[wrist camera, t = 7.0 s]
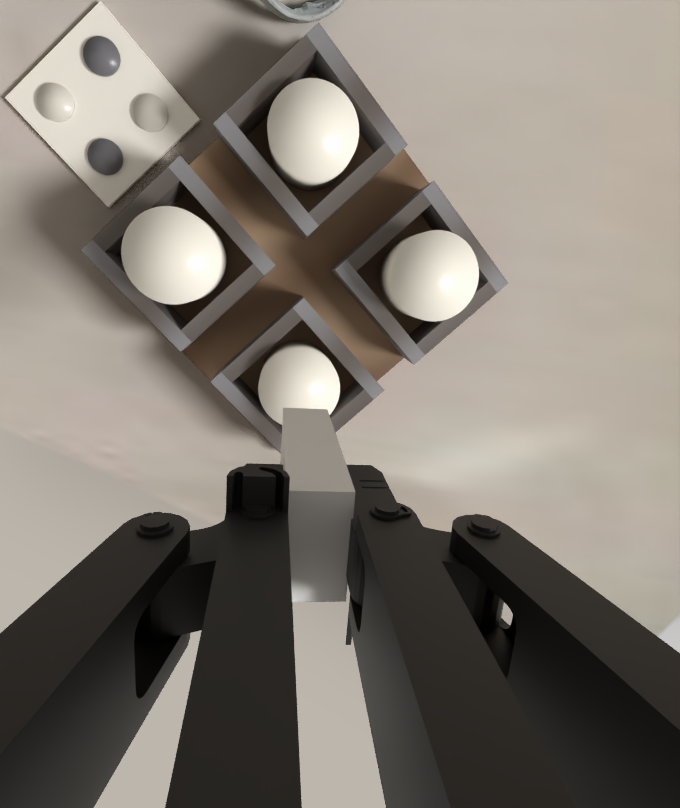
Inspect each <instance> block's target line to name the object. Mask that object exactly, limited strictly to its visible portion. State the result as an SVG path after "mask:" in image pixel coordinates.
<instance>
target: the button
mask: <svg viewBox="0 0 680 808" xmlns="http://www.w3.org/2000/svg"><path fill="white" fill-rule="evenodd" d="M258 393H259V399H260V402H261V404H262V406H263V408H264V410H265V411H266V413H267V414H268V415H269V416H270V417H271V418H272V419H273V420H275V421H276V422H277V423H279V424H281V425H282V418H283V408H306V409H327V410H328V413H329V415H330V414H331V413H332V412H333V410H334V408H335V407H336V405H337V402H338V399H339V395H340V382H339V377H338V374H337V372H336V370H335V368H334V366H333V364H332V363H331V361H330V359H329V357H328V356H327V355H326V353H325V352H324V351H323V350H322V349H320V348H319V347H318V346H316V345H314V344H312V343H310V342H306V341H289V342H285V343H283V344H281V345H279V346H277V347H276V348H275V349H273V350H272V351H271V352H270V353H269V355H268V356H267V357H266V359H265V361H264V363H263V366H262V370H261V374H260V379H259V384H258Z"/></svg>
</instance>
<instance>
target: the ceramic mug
mask: <svg viewBox="0 0 680 808" xmlns="http://www.w3.org/2000/svg"><path fill="white" fill-rule="evenodd" d="M261 1H262V3H263V4H264V5H265V6H266V7H267V8H268V9H269V10H270V11H271V12H272V13H274V14H275V15H277V16H278V17H280V18H282V19H284V20H286V21H288V22H294V23H308V22H314V21H318V20H320V19H322V18H324V17H326V16H328V15H330V14H331V13H333V12H334V11H335V10H337V9H338V8H339V7H340V6H341V5H342V4H343V3H344V1H345V0H316V1H314V2H305V3H304V4H303V5H302V6H301V8H295V9H291V8H289V7H287V6H286V5H284V4H283V3H281V2H279V1H277V0H261Z"/></svg>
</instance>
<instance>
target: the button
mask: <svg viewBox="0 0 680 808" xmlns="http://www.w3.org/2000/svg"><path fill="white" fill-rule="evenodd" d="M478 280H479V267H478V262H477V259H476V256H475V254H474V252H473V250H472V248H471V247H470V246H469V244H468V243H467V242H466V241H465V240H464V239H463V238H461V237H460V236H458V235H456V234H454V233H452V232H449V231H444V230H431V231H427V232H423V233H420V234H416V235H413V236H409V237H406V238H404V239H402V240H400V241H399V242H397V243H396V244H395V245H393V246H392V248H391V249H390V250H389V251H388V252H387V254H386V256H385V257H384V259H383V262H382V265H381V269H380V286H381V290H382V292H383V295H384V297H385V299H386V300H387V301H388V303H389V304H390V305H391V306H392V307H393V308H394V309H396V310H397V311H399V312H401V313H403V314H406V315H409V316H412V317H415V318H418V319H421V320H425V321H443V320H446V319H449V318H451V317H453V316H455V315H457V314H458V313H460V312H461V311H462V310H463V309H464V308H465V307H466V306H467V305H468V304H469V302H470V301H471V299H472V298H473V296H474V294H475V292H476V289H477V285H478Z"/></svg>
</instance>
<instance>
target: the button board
mask: <svg viewBox="0 0 680 808" xmlns="http://www.w3.org/2000/svg"><path fill="white" fill-rule="evenodd" d="M305 78H318V79H323V80H326V81H328V82H330V83H332V84H334V85H336V86H337V87H338V88H340V89H341V90H342V91H343V92H344V93H345V94H346V95H347V97H348V98H349V99H350V101H351V102H352V104H353V106H354V108H355V111H356V114H357V117H358V122H359V139H358V144H357V148H356V150H355V153H354V155H353V157H352V158H351V160H350V162H349V163H348V165H347V167H346V169H345V170H344V172H343V173H342V175H341V176H340V177H339V178H338V179H337V180H336V181H335V182H334V183H333V184H331V185H329V186H328V187H325V188H323V189H319V190H303V189H300V188H297V187H295V186H292V185H291V184H289V183H288V182H287V181H285V180H284V179H283V178H282V177H281V176H280V174H279V173H278V172H277V170H276V168H275V167H274V165H273V162H272V159H271V156H270V150H269V142H268V133H267V122H268V115H269V111H270V108H271V105H272V103H273V101H274V100H275V98H276V97H277V95H278V94H279V93H280V92H281V91H282V90H283V89H284V88H285V87H286V86H287V85H289V84H291V83H292V82H295V81H297V80H300V79H305ZM213 124H214V126H215V129H216V131H217V133H218V135H219V137H218V138H217V139H216V140H215V141H214V142H213V143H212V144H211V145H210V146H209V147H207V148H206V149H205V150H204V151H203V152H202V153H201V154H200V155H199V156H198V157H197V158H196V159H195V160H194V161H193V162H192V163H191V164H190V165H188V164H187V163H186V162H185V160H184V159H183V158H182V157H181V156H179V157H178V158H176V159H175V160H174V161H173V162H172V163H171V164H170V165H169V166H168V167H167V168H166V169H165V170H164V171H163V172H162V173H161V174H160V175H159V176H158V177H157V178H156V179H155V180H153V181H152V182H151V183H150V184H149V185H148V186H147V187H146V188H145V189H144V190H143V191H142V192H141V193H140V194H139V195H138V196H137V197H136V198H135V199H134V200H133V201H132V202H130V203H129V204H128V205H127V206H126V207H125V208H124V209H123V210H122V211H121V212H120V213H119V214H118V215H117V216H116V217H115V218H114V219H113V220H112V221H111V222H110V223H109V224H108V225H106V226H105V227H104V228H103V229H102V230H101V231H100V232H99V233H98V234H97V235H96V236H95V237H94V238H93V239H92V240H91V241H90V242H89V243H88V244H87V245H86V246H85V247H83V248H82V249H81V251H82V252H83V253H84V254H85V255H86V256H87V257H88V258H89V259H90V260H91V261H92V262H93V263H94V264H95V265H96V266H97V267H98V268H99V269H100V270H101V272H102V273H103V274H104V275H105V276H106V277H107V278H108V279H109V280H110V281H111V282H112V283H113V284H114V285H115V286H116V287H117V288H118V289H119V290H120V291H121V292H122V293H123V294H124V295H125V296H126V297H127V298H128V299H129V300H130V301H131V302H132V303H133V304H134V305H135V306H136V307H137V308H138V309H139V310H140V311H141V312H142V313H143V314H144V315H145V316H146V317H147V318H148V319H149V320H150V321H151V322H152V323H153V324H154V325H155V326H156V327H157V328H158V329H159V330H160V331H161V332H162V333H163V334H164V335H165V336H166V338H167V339H168V340H169V341H170V342H171V343H172V344H173V345H174V346H175V347H176V348H177V349H178V350H179V351H180V352H181V351H182V352H183V353H184V354H185V355H186V356H187V357H188V358H189V359H190V360H191V361H192V362H193V363H194V364H195V365H196V366H197V367H198V368H199V369H200V370H201V371H202V372H203V373H204V374H205V375H206V376H207V377H208V378H209V379H210V380H211V383H212V384H213V385H214V386H215V387H216V388H217V389H218V390H219V391H220V392H221V393H222V394H223V395H224V396H225V397H226V398H227V399H228V400H229V401H230V402H231V403H232V405H233V406H234V407H235V408H236V409H237V410H238V411H239V412H240V413H241V414H242V415H243V416H244V417H245V418H246V419H247V420H248V421H249V422H250V423H251V424H252V425H253V426H254V427H255V428H256V429H257V430H258V431H259V432H260V433H261V434H262V435H263V436H264V437H265V438H266V439H267V440H268V441H269V442H270V443H271V444H272V445H273V446H274V447H275V448H276V449H277V450H278V451H279V452H280V453H281V440H282V425H281V424H279V423H277V422H276V421H275V420H273V419H272V418H271V417H270V416H269V415H268V414H267V413H266V411H265V410H264V408H263V406H262V404H261V402H260V399H259V393H258V384H259V379H260V374H261V370H262V366H263V363H264V361H265V359H266V357H267V356H268V355H269V353H270V352H271V351H272V350H273V349H275V348H276V347H277V346H279V345H281V344H283V343H285V342H289V341H306V342H310V343H312V344H314V345H316V346H318V347H319V348H320V349H322V350H323V351H324V352H325V353H326V355H327V356H328V357H329V359H330V361H331V363H332V364H333V366H334V368H335V370H336V372H337V374H338V377H339V382H340V395H339V399H338V402H337V405H336V407H335V408H334V410H333V412H332V413H331V414H330V415H329V416H330V419H331V422H332V424H333V427H334V430H335V432H336V431H338V430H339V429H340V428H341V427H342V426H343V425H345V424H346V423H347V422H348V421H349V420H350V419H352V418H353V417H354V416H355V415H356V414H357V413H358V412H360V411H361V410H362V409H363V408H364V407H365V406H367V405H368V404H369V403H370V402H371V401H372V400H374V399H375V398H376V397H377V396H378V395H379V394H380V393H382V392H383V391H384V389H383V388H382V387H381V386H380V385H379V384H378V382H377V381H378V380H379V379H380V378H381V377H382V376H383V375H385V374H386V373H387V372H388V371H389V370H390V369H391V368H393V367H394V366H395V365H396V364H397V363H398V362H400V361H401V360H402V359H403V358H405V359H407V360H408V361H410V362H411V363H413V364H415V363H416V362H418V361H419V360H420V359H421V358H422V357H423V356H424V355H426V354H427V353H428V352H429V351H430V350H431V349H433V348H434V347H435V346H436V345H437V344H438V343H440V342H441V341H442V340H443V339H444V338H445V337H446V336H448V335H449V334H450V333H451V332H452V331H453V330H455V329H456V328H457V327H458V326H459V325H460V324H462V323H463V322H464V321H465V320H466V319H467V318H468V317H470V316H471V315H472V314H473V313H474V312H475V311H477V310H478V309H479V308H480V307H481V306H482V305H484V304H485V303H486V302H487V301H488V300H489V299H490V298H492V297H493V296H494V295H495V294H496V293H497V292H499V291H500V290H501V289H502V288H503V287H504V286H506V285H507V284H508V282H507V280H506V279H505V278H504V276H503V275H502V273H501V272H500V271H499V269H498V268H497V267H496V265H495V264H494V262H493V261H492V260H491V258H490V257H489V256H488V254H487V253H486V251H485V250H484V249H483V247H482V246H481V245H480V243H479V242H478V240H477V239H476V238H475V236H474V235H473V234H472V232H471V231H470V229H469V228H468V227H467V225H466V224H465V223H464V221H463V220H462V218H461V217H460V216H459V214H458V213H457V212H456V210H455V209H454V207H453V206H452V205H451V203H450V202H449V201H448V199H447V198H446V196H445V195H444V194H443V192H442V191H441V190H440V188H439V187H438V185H437V184H436V183H435V181H433V182H431V183H428V181H427V180H426V179H425V177H424V176H423V175H422V173H421V172H420V170H419V169H418V168H417V166H416V165H415V164H414V162H413V161H412V160H411V158H410V157H409V155H408V154H407V153H406V151H405V150H404V148H405V147H406V146H407V145H408V144H407V143H406V142H405V140H404V139H403V137H402V136H401V135H400V133H399V132H398V131H397V129H396V128H395V126H394V125H393V124H392V122H391V121H390V120H389V118H388V117H387V115H386V114H385V113H384V111H383V110H382V109H381V107H380V106H379V104H378V103H377V102H376V100H375V99H374V98H373V96H372V95H371V93H370V92H369V91H368V89H367V88H366V87H365V85H364V84H363V82H362V81H361V80H360V78H359V77H358V76H357V74H356V73H355V71H354V70H353V69H352V67H351V66H350V65H349V63H348V62H347V60H346V59H345V58H344V56H343V55H342V54H341V52H340V51H339V49H338V48H337V47H336V45H335V44H334V43H333V41H332V40H331V39H330V37H329V36H328V34H327V33H326V32H325V30H324V29H323V28H322V26H321V25H320V23H318V24H316V25H315V26H314V27H313V28H312V29H311V30H310V31H309V32H308V33H307V34H306V35H305V36H304V37H303V38H302V39H301V40H300V41H299V42H298V43H297V44H296V45H295V46H294V47H292V48H291V49H290V50H289V51H288V52H287V53H286V54H285V55H284V56H283V57H282V58H281V59H280V60H279V61H278V62H277V63H276V64H275V65H274V66H273V67H272V68H271V69H269V70H268V71H267V72H266V73H265V74H264V75H263V76H262V77H261V78H260V79H259V80H258V81H257V82H256V83H255V84H254V85H253V86H252V87H251V88H250V89H249V90H248V91H246V92H245V93H244V94H243V95H242V96H241V97H240V98H239V99H238V100H237V101H236V102H235V103H234V104H233V105H232V106H231V107H230V108H229V109H228V110H227V111H226V112H225V113H223V114H222V115H221V116H220V117H219V118H218V119H217V120H216V121H215V122H214V123H213ZM159 206H173V207H178V208H181V209H184V210H187V211H189V212H191V213H192V214H194V215H196V216H197V217H199V218H200V219H202V220H203V221H205V222H206V223H207V224H209V225H210V226H211V227H212V228H213V229H214V230H215V231H216V232H217V234H218V235H219V237H220V238H221V240H222V242H223V244H224V247H225V251H226V257H227V264H226V271H225V274H224V277H223V279H222V281H221V283H220V284H219V286H218V287H217V288H216V289H215V290H214V291H213V292H212V293H210V294H209V295H207V296H206V297H203V298H201V299H198V300H195V301H191V302H188V303H184V304H164V303H160V302H157V301H155V300H152V299H150V298H149V297H147V296H145V295H144V294H143V293H141V292H140V291H139V290H138V289H137V288H136V287H135V286H134V285H133V284H132V282H131V281H130V279H129V278H128V276H127V274H126V272H125V269H124V266H123V262H122V256H121V246H122V240H123V237H124V234H125V232H126V229H127V228H128V226H129V225H130V223H131V222H132V221H133V220H134V219H135V218H136V217H137V216H138V215H139V214H141V213H142V212H144V211H146V210H148V209H151V208H154V207H159ZM431 230H444V231H449V232H452V233H454V234H456V235H458V236H460V237H461V238H463V239H464V240H465V241H466V242H467V243H468V244H469V246H470V247H471V248H472V250H473V252H474V254H475V256H476V259H477V262H478V267H479V280H478V285H477V289H476V292H475V294H474V296H473V298H472V299H471V301H470V302H469V304H468V305H467V306H466V307H465V308H464V309H463V310H462V311H461V312H460V313H458V314H457V315H455V316H453V317H451V318H449V319H446V320H443V321H425V320H421V319H418V318H415V317H412V316H409V315H406V314H403V313H401V312H399V311H397V310H396V309H394V308H393V307H392V306H391V305H390V304H389V303H388V301H387V300H386V299H385V297H384V295H383V292H382V290H381V286H380V269H381V265H382V262H383V259H384V257H385V256H386V254H387V252H388V251H389V250H390V249H391V248H392V246H393V245H395V244H396V243H397V242H399V241H400V240H402V239H404V238H406V237H409V236H413V235H416V234H420V233H423V232H427V231H431Z"/></svg>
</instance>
